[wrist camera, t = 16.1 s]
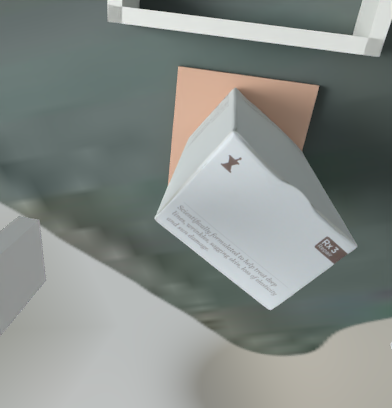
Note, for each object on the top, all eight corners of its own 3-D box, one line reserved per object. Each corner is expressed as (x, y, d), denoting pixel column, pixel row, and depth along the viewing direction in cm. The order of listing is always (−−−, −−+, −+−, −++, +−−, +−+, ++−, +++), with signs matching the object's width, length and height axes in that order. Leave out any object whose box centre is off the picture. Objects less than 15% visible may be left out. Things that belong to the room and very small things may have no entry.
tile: (179, 66, 28) (178, 66, 27) (317, 84, 27) (319, 85, 26) (168, 189, 32) (167, 192, 32) (285, 209, 32) (285, 212, 31)
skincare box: (188, 136, 29) (139, 217, 16) (238, 81, 27) (227, 123, 14) (258, 199, 31) (265, 320, 18) (311, 153, 29) (365, 252, 15)
